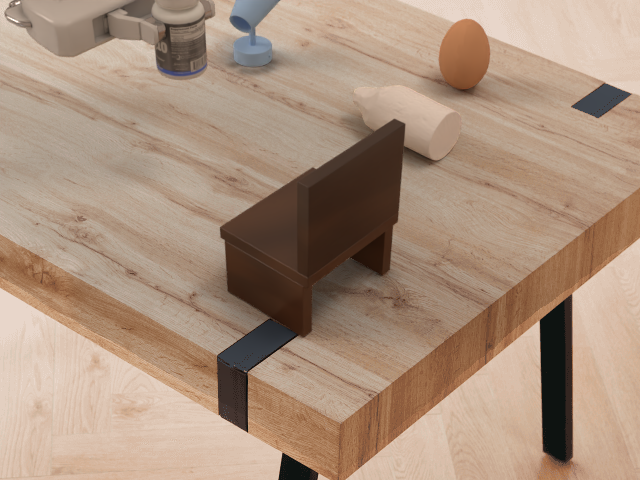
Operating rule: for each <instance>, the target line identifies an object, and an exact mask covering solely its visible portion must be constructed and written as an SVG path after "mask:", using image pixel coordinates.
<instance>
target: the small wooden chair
mask: <svg viewBox="0 0 640 480" xmlns="http://www.w3.org/2000/svg"><path fill="white" fill-rule="evenodd" d="M405 125H406V124H405V123H403V122H401V121H399V120H397V119H393V120H391V121H390V122H388V123H387V124H385V125H384V126H382V127H381V128H379V129H377V130H376V131H373V132H371V133H369V134H368V135H367V136H365V137H363V138H362V139H361V140H359V141H357V142H356V143H355V144H352V145H351V146H350V147H348V148H346V149H345V150H343V151H342V152H341V153H339V154H337V155H336V156H335V157H332V158H331V159H330V160H328V161H326V162H325V163H324V164H322V165H320V166H319V167H318V168H316V167H310V168H309V169H308V170H306V171H304V172H303V173H302V174H300V175H298V176H297V177H294V178H293V179H292V180H290V181H288V182H287V183H286V184H284V185H283V186H282V187H280V188H278V189H276V190H275V191H273V192H272V193H271V194H269V195H267V196H265V197H264V198H262V199H261V200H259V201H258V202H256V203H255V204H253V205H251V206H250V207H249V208H247V209H246V210H244V211H242V212H241V213H239V214H238V215H236V216H235V217H233V218H232V219H230V220H228V221H227V222H225V223H224V224H222V225H221V226H219V237H220V239H222V240H223V241H224V254H225V269H226V271H225V273H226V284H227V285H226V286H227V287H226V288H227V292H228V293H230V294H231V295H233V296H235V297H237V299H239V300H241V301H243V302H245V303H246V304H247V305H249V306H251V307H252V308H254V309H256V310H257V311H258V312H261V313H262V314H264V315H266V316H267V317H268V318H271V320H273V321H275V322H277V323H279V325H282V326H284V327H285V328H287V329H288V330H290V331H292V332H293V333H295V334H296V335H298V336H299V337H301V338H305V337H306V336H307V335H308V334H310V333H311V332H312V331H313V286H314V285H316V284H317V283H318V282H319V281H321V280H322V279H324V278H325V277H326V276H327V275H329V274H330V273H332V272H333V271H334V270H335V269H337V268H338V267H340V266H341V265H343V263H345V262H346V261H348V260H349V259H351V261H354V262H356V263H358V264H360V265H361V266H363V267H365V268H367V269H369V270H370V271H372V272H373V273H376V274H378V275H379V276H381V277H383V276H384V275H385V274H386V273H388V272H389V271H391V261H392V247H393V235H394V233H393V232H394V226H395V225H396V224H398V222H399V215H400V214H399V213H400V200H401V189H402V188H401V187H402V176H403V163H404V152H405V151H404V148H405V146H404V138H405Z"/></svg>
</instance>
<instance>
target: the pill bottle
mask: <svg viewBox="0 0 640 480" xmlns="http://www.w3.org/2000/svg"><path fill="white" fill-rule="evenodd" d="M152 17H154V18H156V19H157V20H158V21H162V22H163V23H164V24H165V26H166V32H165V33H166V34H167V38H166V39H165V40H163V41H161V42H159V43H157V44H155V45H154V53H155V63H156V64H155V65H156V69H157V72H158V73H159V74H160V75H161V76H163V77H165V78H167V79H169V80H174V81H187V80H194V79H196V78H199V77H200V76H202V75H204V73H205V72H206V71H207V68H208V52H207V35H206V34H207V33H206V20H205V12H204V7H203V5H202V3H201V2H200V1H199V0H155V3H154V4H153V6H152Z"/></svg>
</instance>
